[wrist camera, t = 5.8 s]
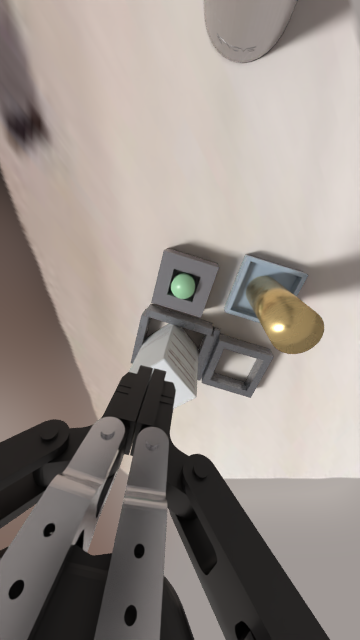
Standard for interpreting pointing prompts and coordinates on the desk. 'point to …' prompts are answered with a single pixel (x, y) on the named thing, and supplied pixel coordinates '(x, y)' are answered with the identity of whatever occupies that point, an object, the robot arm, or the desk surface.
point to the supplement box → (171, 360)
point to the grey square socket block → (190, 264)
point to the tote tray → (256, 268)
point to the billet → (284, 316)
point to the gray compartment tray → (210, 350)
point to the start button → (183, 285)
